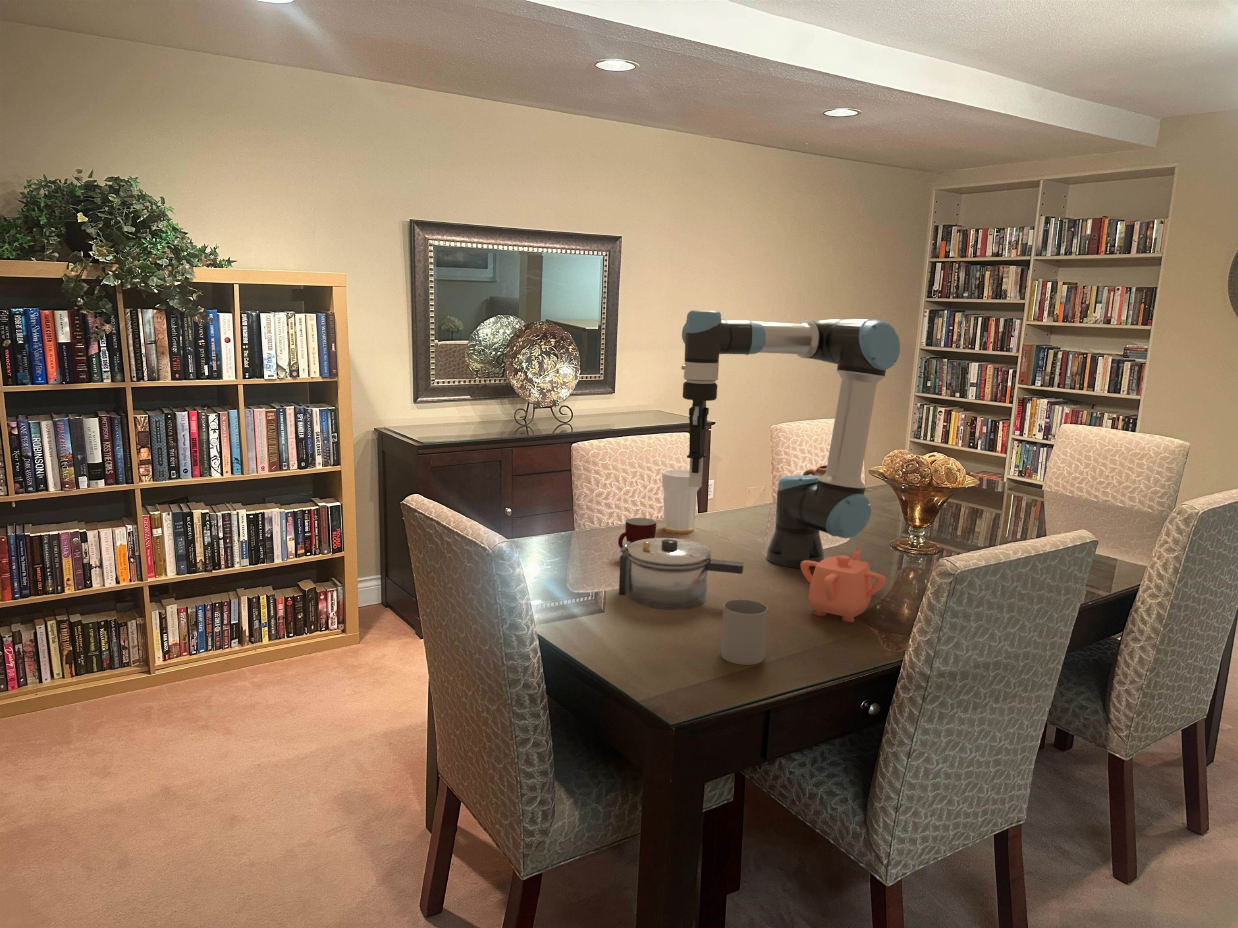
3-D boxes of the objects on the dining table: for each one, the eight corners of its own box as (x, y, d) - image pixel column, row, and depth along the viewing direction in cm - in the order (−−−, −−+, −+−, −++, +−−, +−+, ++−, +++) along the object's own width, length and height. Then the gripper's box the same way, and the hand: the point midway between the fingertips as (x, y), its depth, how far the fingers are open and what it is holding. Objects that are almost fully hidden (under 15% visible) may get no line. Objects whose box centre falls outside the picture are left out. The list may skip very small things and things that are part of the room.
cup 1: (704, 529, 264) (707, 472, 261) (686, 536, 255) (689, 478, 252) (671, 522, 270) (673, 467, 267) (652, 530, 261) (655, 473, 258)
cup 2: (717, 647, 173) (720, 599, 172) (758, 647, 174) (761, 599, 172) (726, 664, 165) (729, 614, 163) (768, 664, 166) (772, 614, 164)
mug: (629, 565, 225) (631, 528, 223) (610, 557, 231) (612, 521, 229) (661, 559, 231) (662, 522, 230) (641, 552, 238) (643, 516, 236)
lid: (715, 546, 208) (715, 534, 207) (704, 569, 190) (705, 555, 189) (631, 538, 212) (632, 526, 212) (613, 560, 194) (614, 546, 193)
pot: (744, 590, 208) (746, 550, 206) (736, 618, 190) (739, 573, 188) (629, 578, 214) (631, 539, 212) (611, 604, 196) (613, 561, 194)
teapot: (824, 627, 186) (829, 568, 184) (790, 602, 201) (794, 547, 199) (893, 622, 191) (898, 564, 188) (855, 598, 206) (860, 544, 203)
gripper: (687, 378, 200) (683, 479, 204) (678, 383, 187) (674, 490, 191) (720, 380, 198) (715, 482, 202) (713, 384, 185) (708, 493, 190)
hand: (695, 486), depth 197 cm, fingers closed
